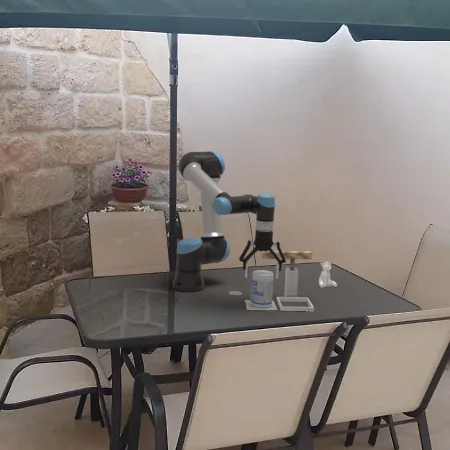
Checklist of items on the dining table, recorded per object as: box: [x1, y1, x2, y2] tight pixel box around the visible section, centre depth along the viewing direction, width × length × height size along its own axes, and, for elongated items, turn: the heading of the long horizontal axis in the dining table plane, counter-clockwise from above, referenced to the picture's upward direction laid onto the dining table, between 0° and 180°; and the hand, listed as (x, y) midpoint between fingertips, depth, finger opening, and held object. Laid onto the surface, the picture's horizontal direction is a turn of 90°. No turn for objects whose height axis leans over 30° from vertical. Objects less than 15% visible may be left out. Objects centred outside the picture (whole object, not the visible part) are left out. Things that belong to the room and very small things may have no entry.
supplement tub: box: [249, 269, 275, 308], centre depth 263 cm, size 10×10×15 cm
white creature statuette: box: [318, 261, 338, 289], centre depth 299 cm, size 10×9×12 cm
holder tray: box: [276, 296, 315, 313], centre depth 265 cm, size 14×14×2 cm
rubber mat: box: [244, 299, 278, 311], centre depth 264 cm, size 13×13×1 cm
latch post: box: [283, 266, 299, 297], centre depth 275 cm, size 5×5×14 cm
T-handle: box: [261, 250, 313, 269], centre depth 273 cm, size 22×3×8 cm, turn 94°
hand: (261, 277), depth 262 cm, fingers open, 13 cm apart
